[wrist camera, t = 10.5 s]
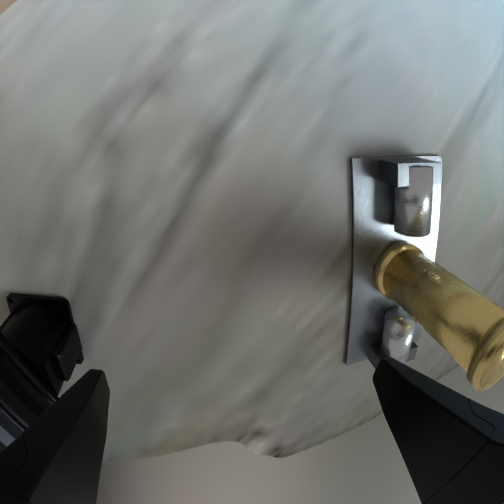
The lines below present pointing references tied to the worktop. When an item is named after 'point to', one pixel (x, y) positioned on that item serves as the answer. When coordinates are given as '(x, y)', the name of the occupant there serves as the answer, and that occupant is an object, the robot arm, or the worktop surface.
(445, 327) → the gold flanged cylinder
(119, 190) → the worktop surface
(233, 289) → the worktop surface
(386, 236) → the shaft bed
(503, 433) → the robot arm
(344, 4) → the worktop surface
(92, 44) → the worktop surface
